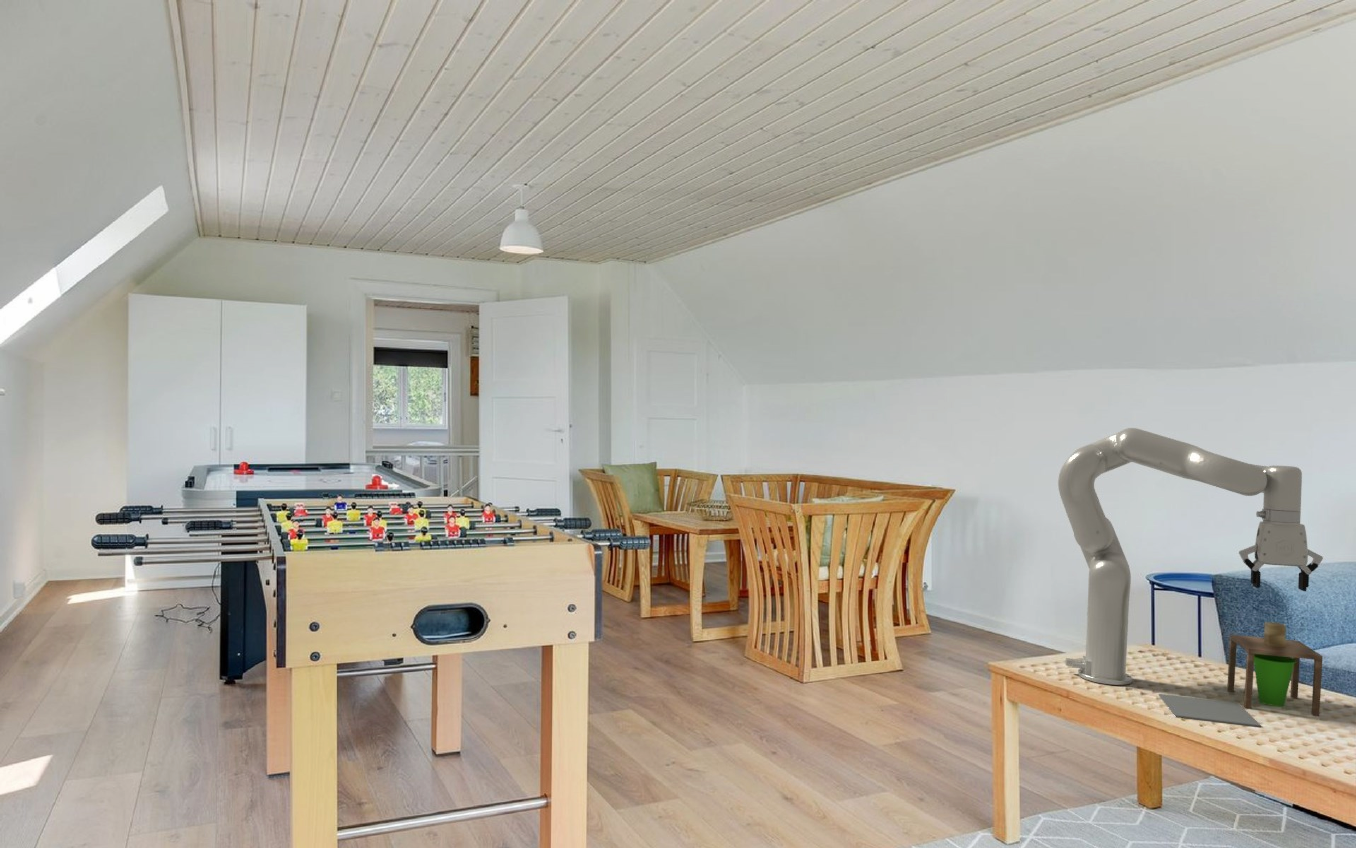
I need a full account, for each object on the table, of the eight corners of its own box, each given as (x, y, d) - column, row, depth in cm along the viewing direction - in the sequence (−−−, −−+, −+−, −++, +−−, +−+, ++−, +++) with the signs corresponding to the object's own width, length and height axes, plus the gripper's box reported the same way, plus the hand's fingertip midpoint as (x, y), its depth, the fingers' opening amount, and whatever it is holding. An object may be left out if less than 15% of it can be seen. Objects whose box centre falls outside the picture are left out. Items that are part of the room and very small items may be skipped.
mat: (1175, 717, 208) (1175, 715, 208) (1158, 695, 224) (1158, 693, 224) (1260, 727, 203) (1261, 725, 203) (1237, 704, 220) (1237, 702, 220)
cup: (1301, 710, 217) (1303, 664, 216) (1258, 706, 218) (1260, 660, 218) (1284, 699, 225) (1286, 654, 225) (1243, 695, 227) (1245, 651, 227)
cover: (1245, 708, 217) (1249, 627, 217) (1227, 690, 231) (1231, 614, 231) (1319, 716, 213) (1323, 634, 212) (1295, 697, 227) (1299, 620, 227)
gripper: (1245, 516, 220) (1243, 588, 220) (1329, 521, 215) (1327, 594, 215) (1236, 513, 227) (1233, 583, 227) (1317, 517, 222) (1314, 588, 223)
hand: (1279, 588), depth 221 cm, fingers open, 9 cm apart
